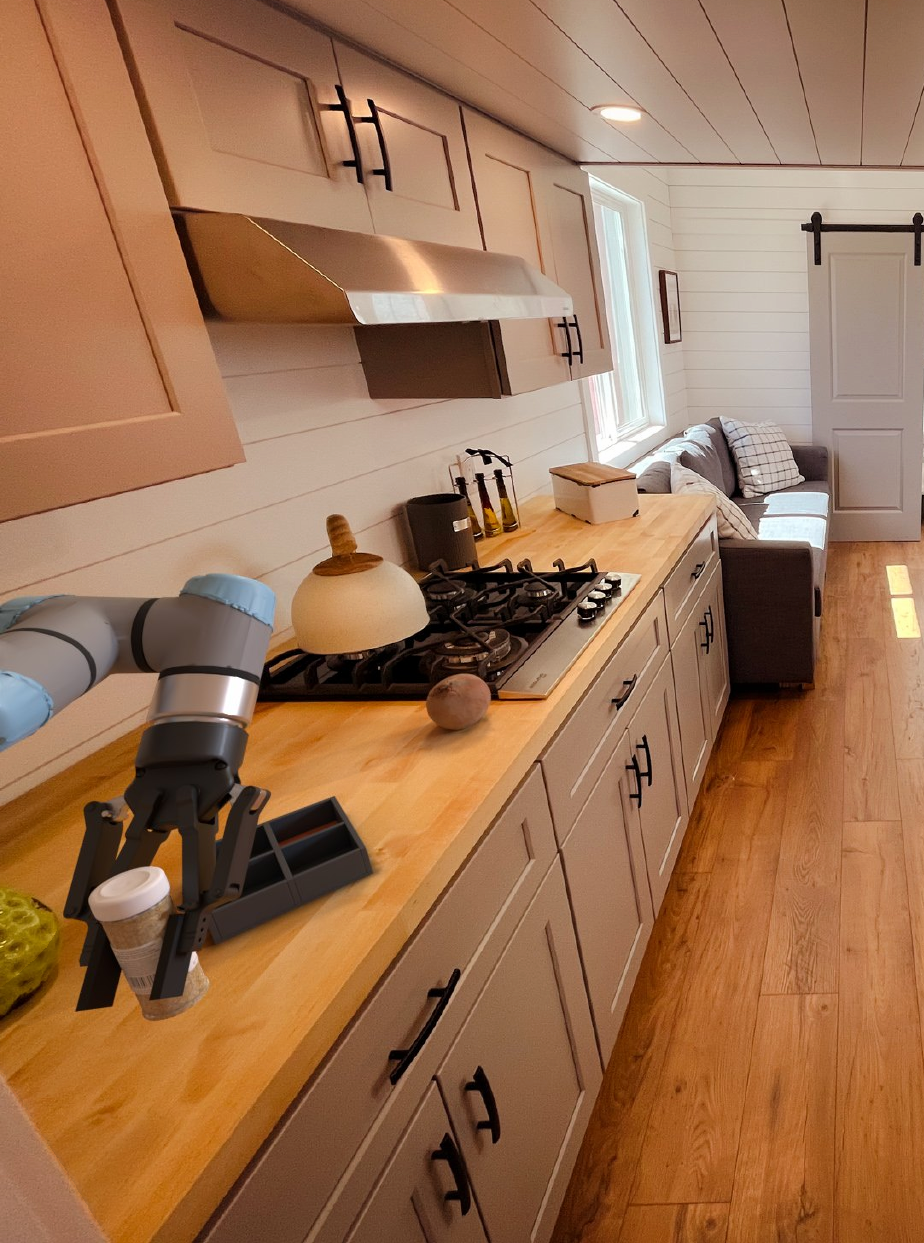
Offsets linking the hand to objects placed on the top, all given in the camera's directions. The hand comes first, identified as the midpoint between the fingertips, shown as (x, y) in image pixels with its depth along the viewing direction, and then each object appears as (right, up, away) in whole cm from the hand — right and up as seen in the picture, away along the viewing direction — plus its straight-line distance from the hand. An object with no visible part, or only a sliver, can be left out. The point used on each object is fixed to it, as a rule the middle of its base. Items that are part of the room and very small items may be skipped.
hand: (130, 1003), depth 59 cm
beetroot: (-8, +11, +61) cm, 63 cm away
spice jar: (-1, -3, +5) cm, 6 cm away
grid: (-10, -1, +28) cm, 30 cm away
